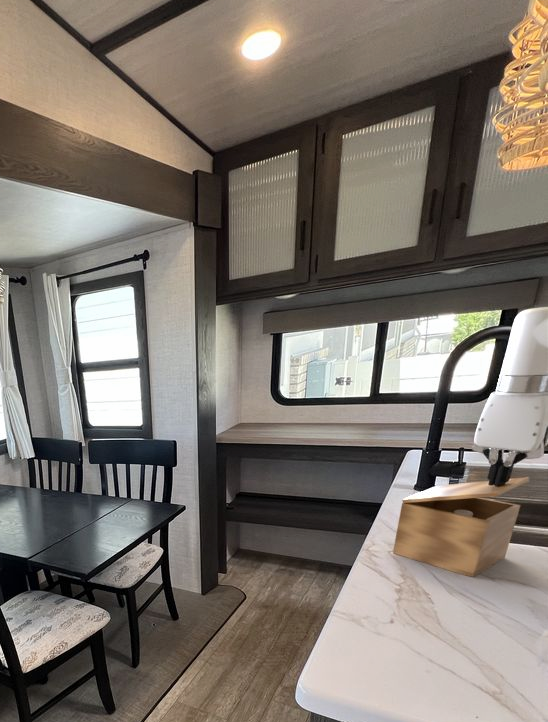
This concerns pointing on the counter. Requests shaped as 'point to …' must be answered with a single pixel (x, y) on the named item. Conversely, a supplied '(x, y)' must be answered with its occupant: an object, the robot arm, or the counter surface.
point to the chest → (456, 533)
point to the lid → (464, 491)
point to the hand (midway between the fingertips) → (496, 484)
